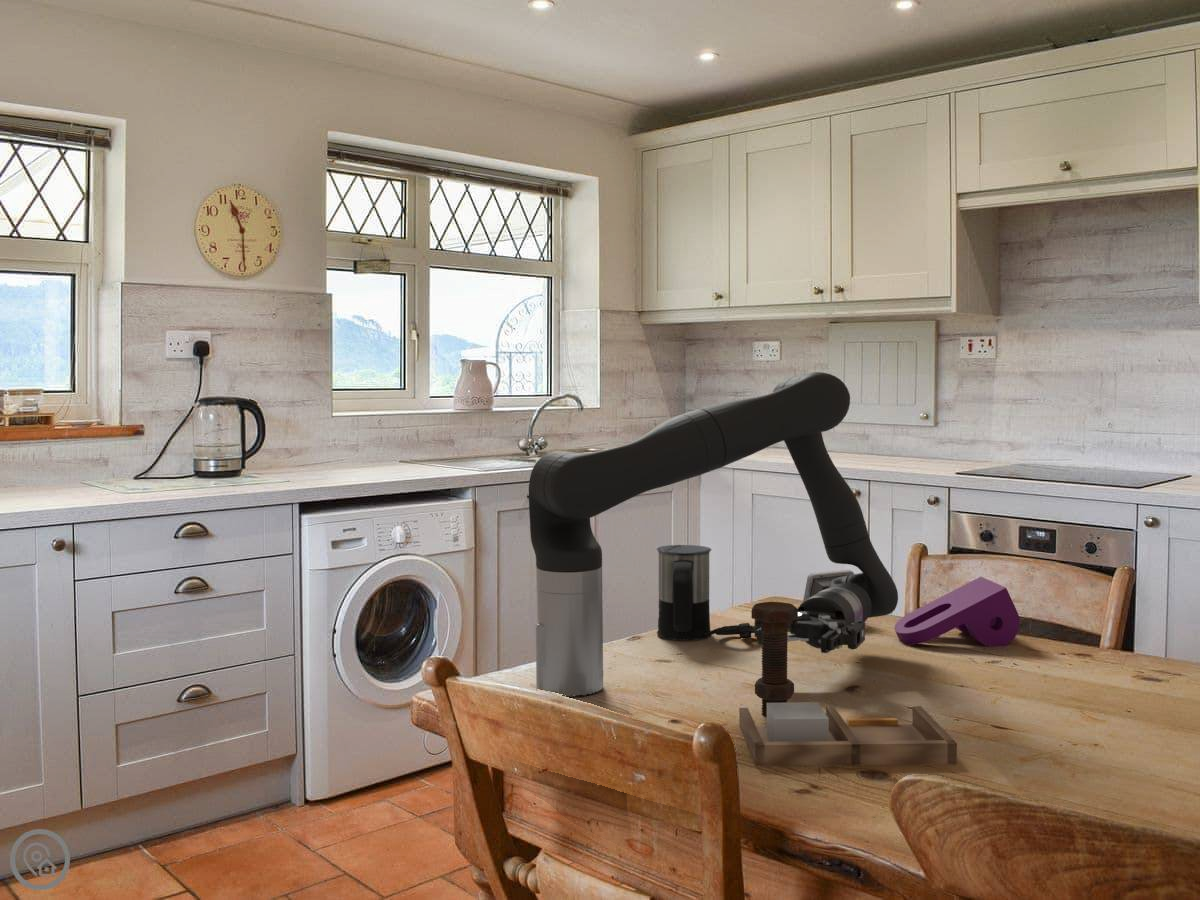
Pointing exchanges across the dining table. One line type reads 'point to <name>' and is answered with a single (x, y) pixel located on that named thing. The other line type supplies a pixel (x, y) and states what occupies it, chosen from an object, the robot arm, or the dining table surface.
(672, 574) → the milk frother
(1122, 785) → the dining table surface
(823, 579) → the electrical switch
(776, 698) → the bolt
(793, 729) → the grey block
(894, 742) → the tray
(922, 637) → the mounting bracket
